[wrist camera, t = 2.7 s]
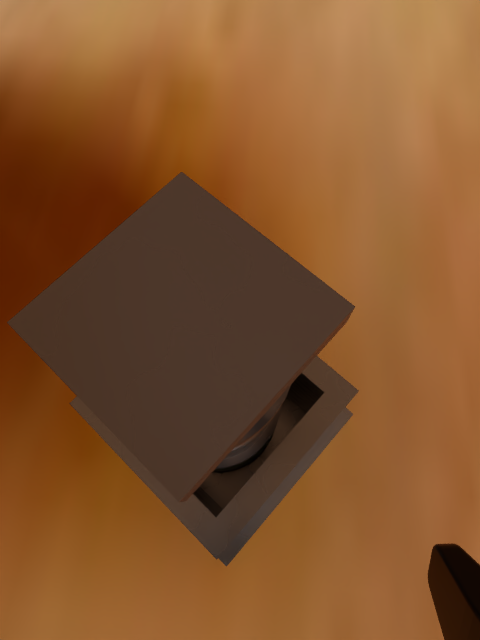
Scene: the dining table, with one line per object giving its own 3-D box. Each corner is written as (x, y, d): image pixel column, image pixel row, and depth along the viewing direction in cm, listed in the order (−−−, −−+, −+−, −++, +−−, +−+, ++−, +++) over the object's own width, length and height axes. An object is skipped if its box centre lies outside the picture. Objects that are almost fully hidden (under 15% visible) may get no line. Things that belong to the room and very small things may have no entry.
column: (296, 415, 20) (359, 306, 8) (224, 498, 18) (178, 507, 7) (220, 348, 21) (181, 168, 9) (148, 422, 20) (3, 322, 8)
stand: (354, 411, 21) (391, 381, 15) (227, 562, 19) (217, 592, 13) (226, 302, 23) (218, 240, 17) (100, 428, 21) (44, 404, 15)
